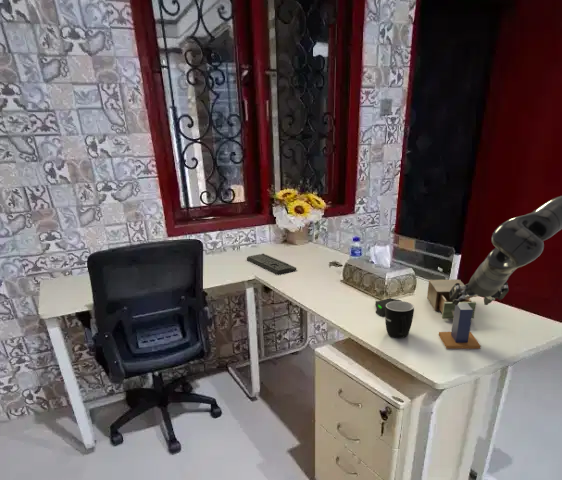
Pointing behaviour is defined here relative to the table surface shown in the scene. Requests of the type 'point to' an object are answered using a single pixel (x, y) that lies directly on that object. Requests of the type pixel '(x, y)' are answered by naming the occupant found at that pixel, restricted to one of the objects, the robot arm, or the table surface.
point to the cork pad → (451, 343)
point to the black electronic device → (383, 306)
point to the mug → (398, 318)
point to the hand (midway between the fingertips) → (470, 302)
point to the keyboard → (271, 264)
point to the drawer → (451, 305)
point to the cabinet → (440, 290)
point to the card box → (461, 322)
